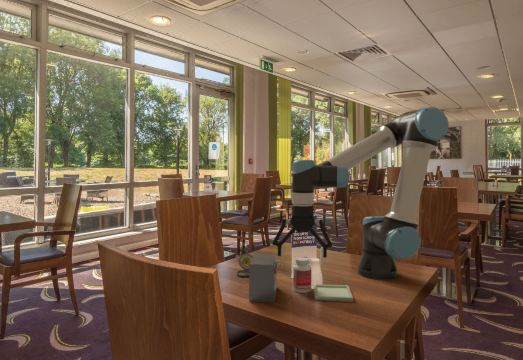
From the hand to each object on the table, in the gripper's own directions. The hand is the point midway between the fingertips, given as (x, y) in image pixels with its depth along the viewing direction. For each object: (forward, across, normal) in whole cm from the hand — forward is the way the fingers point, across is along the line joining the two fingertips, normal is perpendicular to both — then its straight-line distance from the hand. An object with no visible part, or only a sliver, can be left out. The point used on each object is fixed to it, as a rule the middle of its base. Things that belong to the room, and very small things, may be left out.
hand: (301, 266), depth 128 cm
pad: (+8, -10, +3) cm, 14 cm away
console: (+9, +13, +5) cm, 16 cm away
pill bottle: (+9, 0, 0) cm, 9 cm away
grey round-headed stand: (+9, +22, -17) cm, 29 cm away
